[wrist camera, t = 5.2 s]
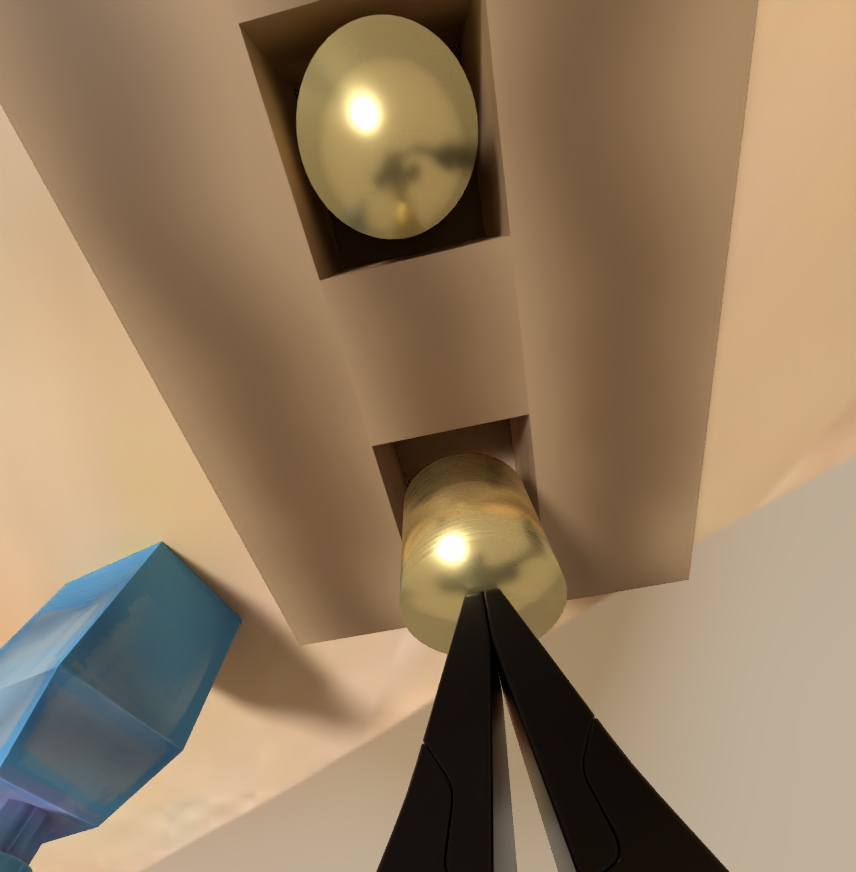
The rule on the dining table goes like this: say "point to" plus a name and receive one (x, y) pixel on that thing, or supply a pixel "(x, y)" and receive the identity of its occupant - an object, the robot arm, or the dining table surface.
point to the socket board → (408, 268)
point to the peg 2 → (473, 548)
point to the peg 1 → (387, 126)
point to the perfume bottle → (102, 694)
